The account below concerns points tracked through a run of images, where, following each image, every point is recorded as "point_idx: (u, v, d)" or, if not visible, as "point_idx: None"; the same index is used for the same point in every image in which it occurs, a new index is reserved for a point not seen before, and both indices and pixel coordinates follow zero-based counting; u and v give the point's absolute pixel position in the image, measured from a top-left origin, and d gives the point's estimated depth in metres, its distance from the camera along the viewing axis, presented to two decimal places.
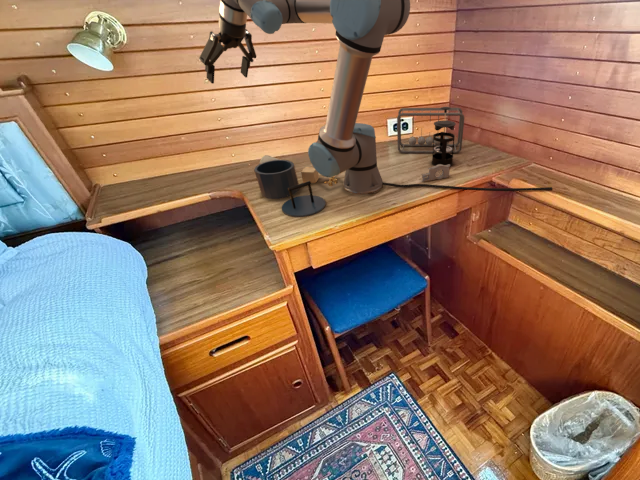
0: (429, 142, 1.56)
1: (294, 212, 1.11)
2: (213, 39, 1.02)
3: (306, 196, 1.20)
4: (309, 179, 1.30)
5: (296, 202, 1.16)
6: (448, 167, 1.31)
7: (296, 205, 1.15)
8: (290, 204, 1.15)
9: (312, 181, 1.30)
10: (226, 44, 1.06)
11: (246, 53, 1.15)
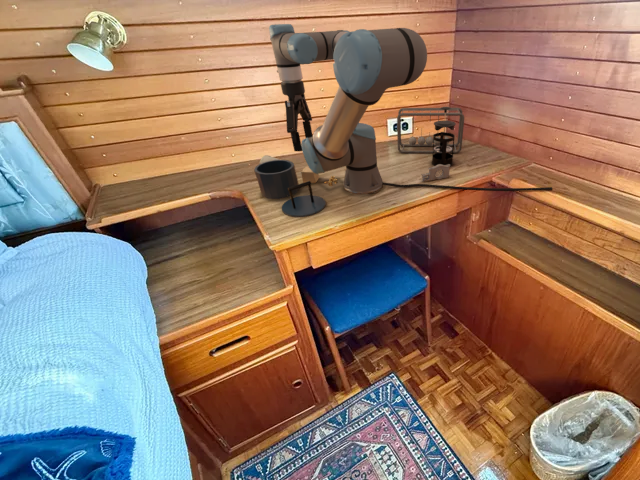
0: (429, 142, 1.56)
1: (294, 212, 1.11)
2: (290, 104, 1.09)
3: (306, 196, 1.20)
4: (309, 179, 1.30)
5: (296, 202, 1.16)
6: (448, 167, 1.31)
7: (296, 205, 1.15)
8: (290, 204, 1.15)
9: (312, 181, 1.30)
10: (297, 106, 1.13)
11: (306, 113, 1.22)
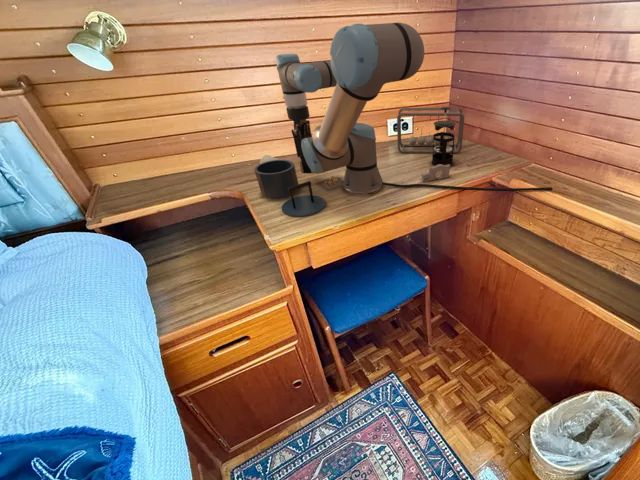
0: (429, 142, 1.56)
1: (294, 212, 1.11)
2: (297, 133, 1.15)
3: (306, 196, 1.20)
4: None
5: (296, 202, 1.16)
6: (448, 167, 1.31)
7: (296, 205, 1.15)
8: (290, 204, 1.15)
9: None
10: (303, 130, 1.19)
11: None
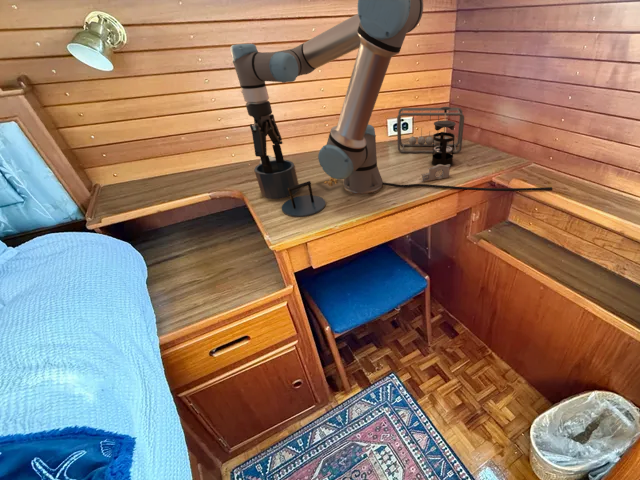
0: (429, 142, 1.56)
1: (294, 212, 1.11)
2: (256, 128, 1.05)
3: (306, 196, 1.20)
4: None
5: (296, 202, 1.16)
6: (448, 167, 1.31)
7: (296, 205, 1.15)
8: (290, 204, 1.15)
9: None
10: (264, 127, 1.09)
11: (276, 136, 1.17)
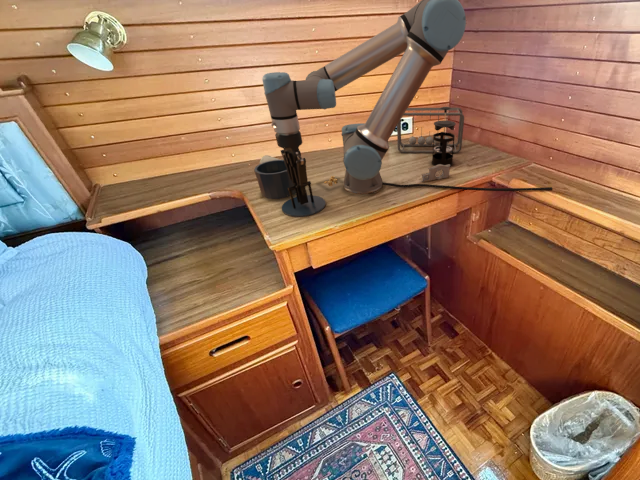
0: (429, 142, 1.56)
1: (294, 211, 1.11)
2: (304, 163, 1.01)
3: None
4: None
5: (296, 202, 1.16)
6: (448, 167, 1.31)
7: (296, 205, 1.15)
8: (290, 204, 1.15)
9: None
10: None
11: None
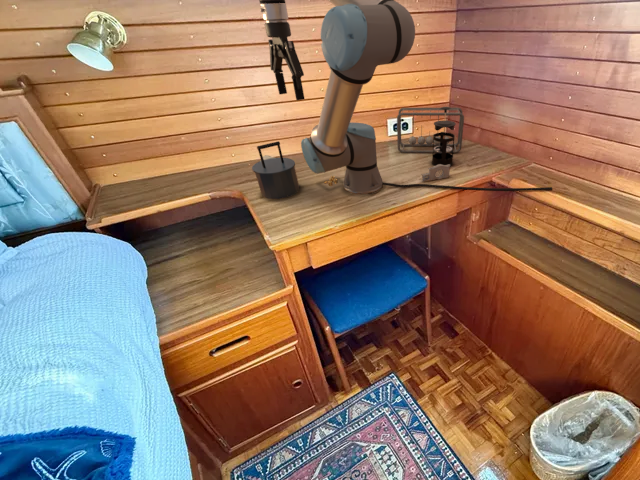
0: (429, 142, 1.56)
1: (263, 170, 1.15)
2: (292, 45, 1.02)
3: (277, 158, 1.25)
4: None
5: (267, 163, 1.21)
6: (448, 167, 1.31)
7: (266, 165, 1.19)
8: (261, 164, 1.20)
9: None
10: None
11: None
